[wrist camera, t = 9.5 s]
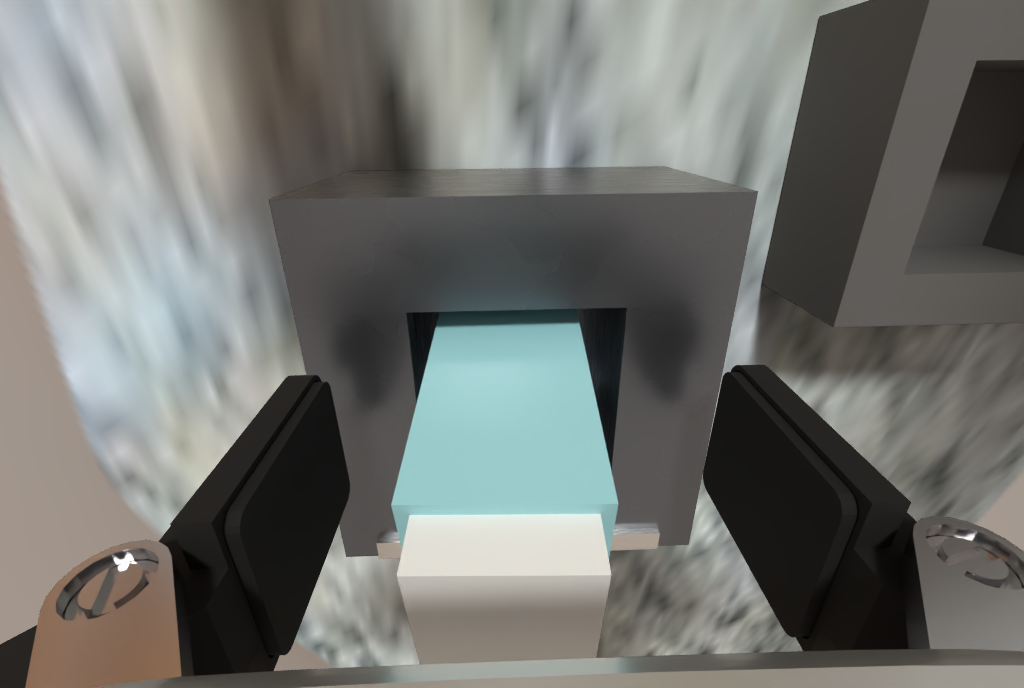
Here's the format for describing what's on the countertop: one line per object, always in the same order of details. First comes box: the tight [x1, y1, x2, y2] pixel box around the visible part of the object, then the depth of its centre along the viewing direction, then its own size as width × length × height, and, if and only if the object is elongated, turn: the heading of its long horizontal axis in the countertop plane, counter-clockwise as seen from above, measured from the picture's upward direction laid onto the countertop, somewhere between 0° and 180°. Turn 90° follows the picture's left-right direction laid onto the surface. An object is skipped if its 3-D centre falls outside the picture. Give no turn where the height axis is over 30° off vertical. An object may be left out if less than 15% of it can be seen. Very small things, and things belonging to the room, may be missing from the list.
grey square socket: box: [762, 0, 1024, 327], centre depth 14 cm, size 8×8×4 cm
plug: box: [391, 309, 618, 665], centre depth 12 cm, size 4×4×10 cm
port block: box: [269, 166, 758, 559], centre depth 15 cm, size 10×10×6 cm
